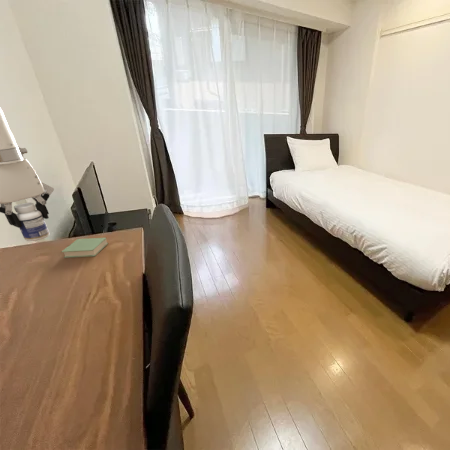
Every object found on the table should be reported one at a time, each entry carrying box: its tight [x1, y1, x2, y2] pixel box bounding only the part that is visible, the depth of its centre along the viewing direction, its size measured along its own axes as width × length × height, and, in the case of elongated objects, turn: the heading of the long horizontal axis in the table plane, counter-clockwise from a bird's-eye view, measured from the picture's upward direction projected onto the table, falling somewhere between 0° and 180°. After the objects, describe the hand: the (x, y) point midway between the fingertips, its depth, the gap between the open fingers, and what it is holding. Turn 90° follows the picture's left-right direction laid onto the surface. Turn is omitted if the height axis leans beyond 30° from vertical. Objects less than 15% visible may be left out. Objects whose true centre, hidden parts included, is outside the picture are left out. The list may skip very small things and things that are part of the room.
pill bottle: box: [13, 202, 51, 242], centre depth 75 cm, size 5×5×10 cm
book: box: [61, 237, 109, 259], centre depth 97 cm, size 10×9×2 cm
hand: (31, 221), depth 75 cm, fingers closed on pill bottle, 5 cm apart
